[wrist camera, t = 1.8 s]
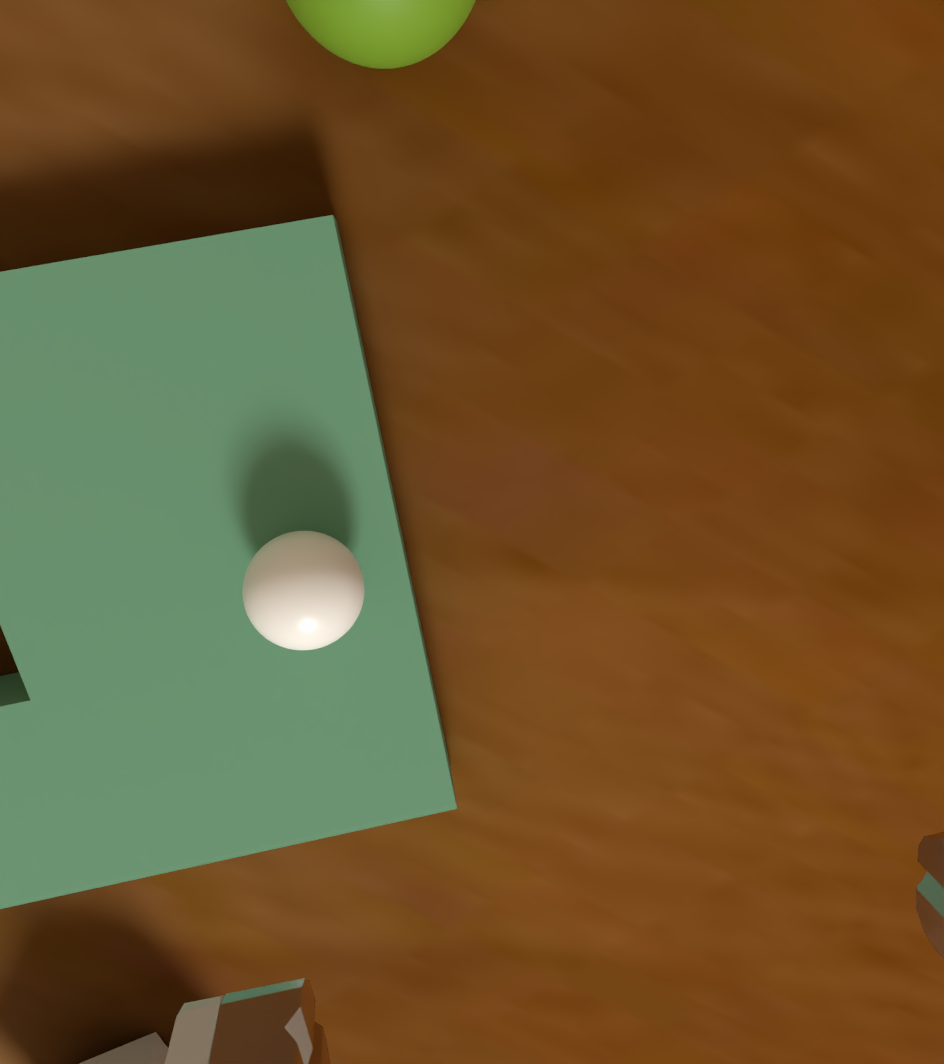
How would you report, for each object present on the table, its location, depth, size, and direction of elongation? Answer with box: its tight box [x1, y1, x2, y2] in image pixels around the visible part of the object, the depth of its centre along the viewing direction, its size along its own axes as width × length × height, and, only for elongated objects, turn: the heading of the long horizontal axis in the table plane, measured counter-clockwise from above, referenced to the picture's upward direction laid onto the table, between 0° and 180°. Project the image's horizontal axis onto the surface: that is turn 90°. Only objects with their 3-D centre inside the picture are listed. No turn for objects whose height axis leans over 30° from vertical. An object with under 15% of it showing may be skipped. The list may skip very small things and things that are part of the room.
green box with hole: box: [0, 215, 457, 909], centre depth 24 cm, size 20×20×6 cm
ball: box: [242, 531, 365, 650], centre depth 23 cm, size 4×4×4 cm
